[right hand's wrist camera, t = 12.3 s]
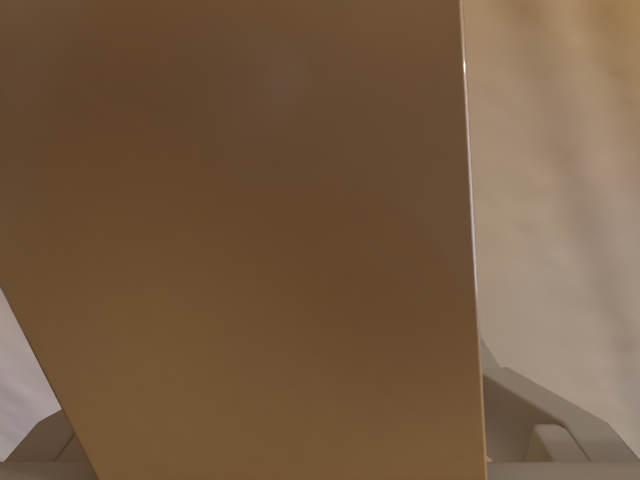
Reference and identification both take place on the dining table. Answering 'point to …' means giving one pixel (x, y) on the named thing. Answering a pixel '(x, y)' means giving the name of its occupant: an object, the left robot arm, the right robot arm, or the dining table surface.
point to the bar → (246, 234)
